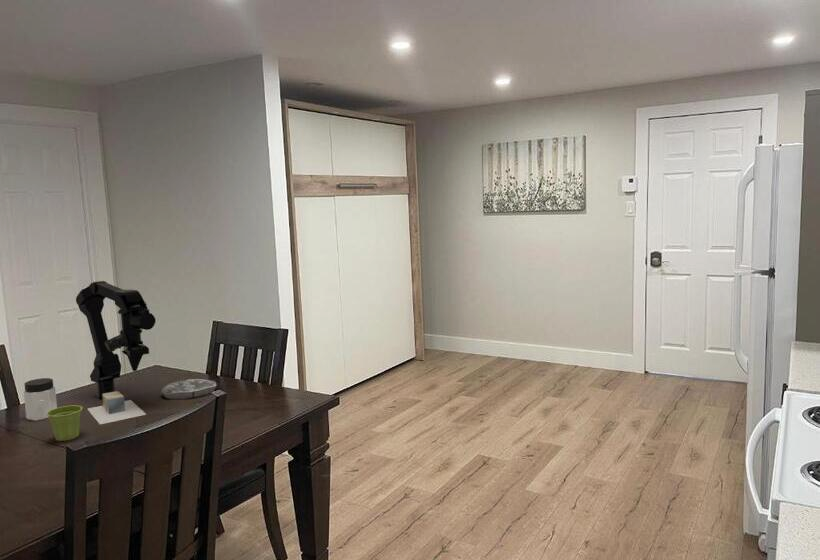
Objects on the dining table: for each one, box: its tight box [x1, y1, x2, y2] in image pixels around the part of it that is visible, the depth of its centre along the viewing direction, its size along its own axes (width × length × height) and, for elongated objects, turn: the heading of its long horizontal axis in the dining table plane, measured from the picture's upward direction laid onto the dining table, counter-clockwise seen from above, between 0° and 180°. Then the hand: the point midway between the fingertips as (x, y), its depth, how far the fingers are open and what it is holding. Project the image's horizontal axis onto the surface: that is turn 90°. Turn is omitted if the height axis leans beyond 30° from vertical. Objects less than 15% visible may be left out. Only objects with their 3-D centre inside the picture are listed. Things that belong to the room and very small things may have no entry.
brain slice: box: [160, 378, 217, 400], centre depth 226 cm, size 20×17×3 cm
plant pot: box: [46, 405, 83, 442], centre depth 183 cm, size 9×9×9 cm
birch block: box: [102, 390, 125, 414], centre depth 207 cm, size 5×5×8 cm
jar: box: [23, 377, 58, 422], centre depth 202 cm, size 9×8×12 cm
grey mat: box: [87, 399, 147, 425], centre depth 205 cm, size 20×14×1 cm
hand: (134, 370), depth 212 cm, fingers closed
